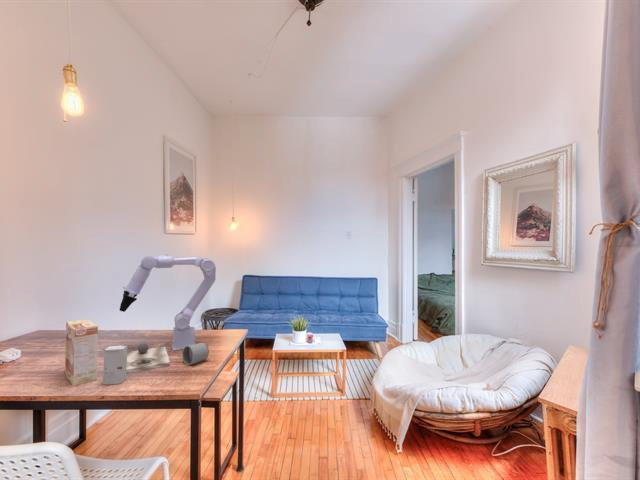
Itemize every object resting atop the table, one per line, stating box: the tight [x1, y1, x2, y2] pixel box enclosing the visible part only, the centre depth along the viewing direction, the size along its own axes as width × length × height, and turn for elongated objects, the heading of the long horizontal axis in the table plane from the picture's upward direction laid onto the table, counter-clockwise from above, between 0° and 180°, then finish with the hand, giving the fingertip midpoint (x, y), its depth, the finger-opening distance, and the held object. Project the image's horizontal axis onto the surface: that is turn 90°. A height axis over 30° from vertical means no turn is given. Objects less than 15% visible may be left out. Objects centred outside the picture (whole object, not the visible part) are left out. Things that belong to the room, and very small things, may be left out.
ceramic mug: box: [182, 342, 210, 366], centre depth 127 cm, size 11×8×8 cm
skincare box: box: [102, 345, 129, 386], centre depth 107 cm, size 6×4×12 cm
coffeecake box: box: [64, 318, 99, 387], centre depth 110 cm, size 15×7×20 cm, turn 48°
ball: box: [137, 343, 149, 353], centre depth 131 cm, size 4×4×4 cm
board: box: [126, 346, 171, 375], centre depth 126 cm, size 18×22×2 cm
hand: (122, 309), depth 133 cm, fingers open, 7 cm apart
